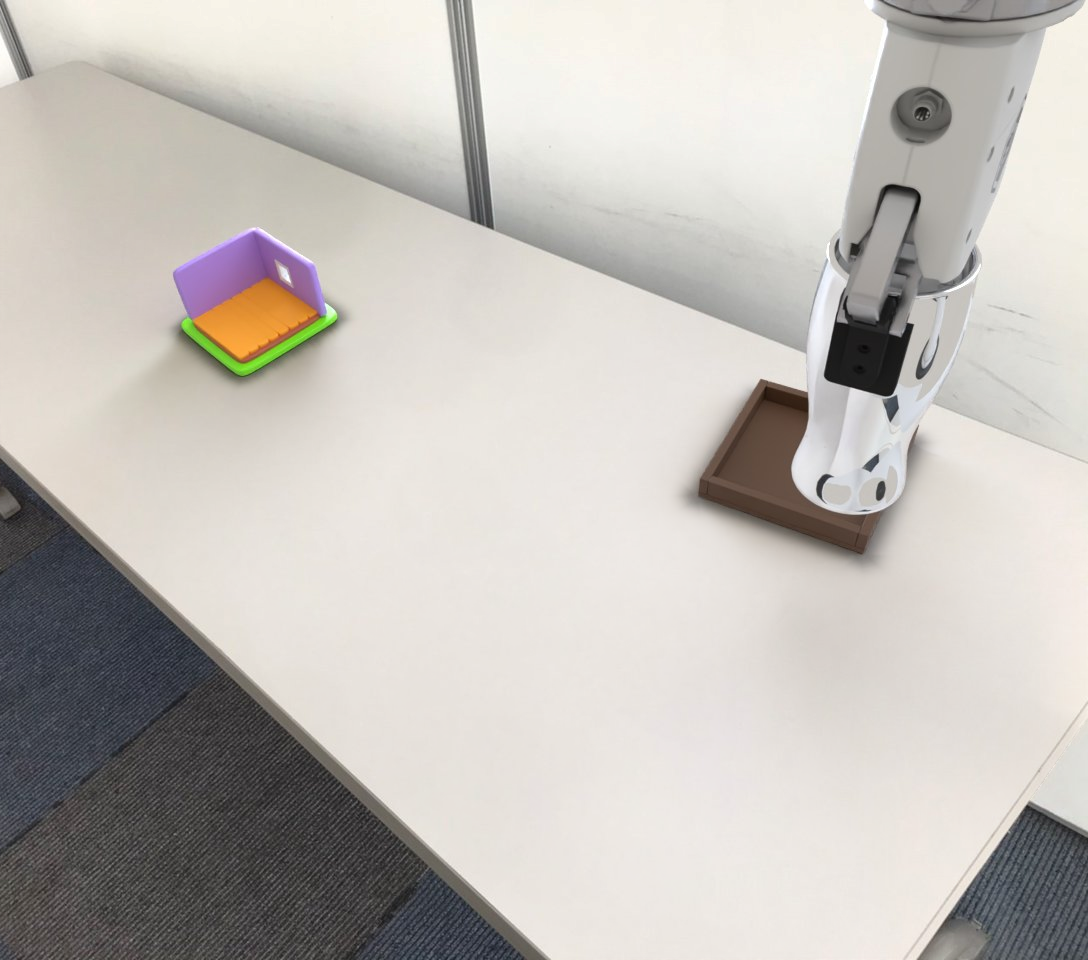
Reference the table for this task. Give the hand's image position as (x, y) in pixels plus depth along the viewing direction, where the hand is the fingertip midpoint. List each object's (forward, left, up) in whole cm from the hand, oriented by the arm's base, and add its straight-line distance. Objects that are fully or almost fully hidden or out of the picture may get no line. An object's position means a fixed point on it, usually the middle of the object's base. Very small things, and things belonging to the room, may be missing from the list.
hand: (882, 334), depth 48 cm
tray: (+5, -13, -25) cm, 29 cm away
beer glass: (0, 0, -10) cm, 10 cm away
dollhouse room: (+58, -9, -25) cm, 64 cm away
